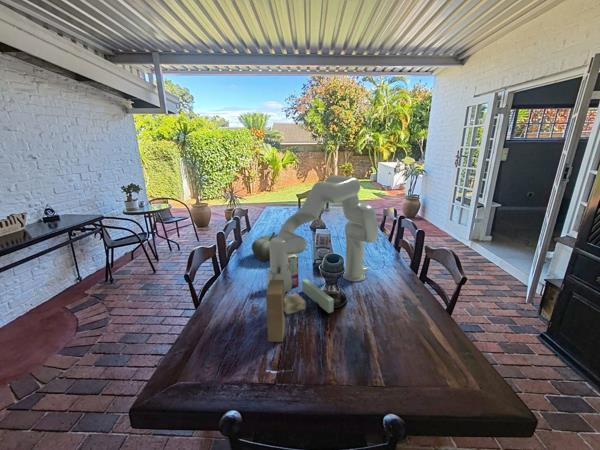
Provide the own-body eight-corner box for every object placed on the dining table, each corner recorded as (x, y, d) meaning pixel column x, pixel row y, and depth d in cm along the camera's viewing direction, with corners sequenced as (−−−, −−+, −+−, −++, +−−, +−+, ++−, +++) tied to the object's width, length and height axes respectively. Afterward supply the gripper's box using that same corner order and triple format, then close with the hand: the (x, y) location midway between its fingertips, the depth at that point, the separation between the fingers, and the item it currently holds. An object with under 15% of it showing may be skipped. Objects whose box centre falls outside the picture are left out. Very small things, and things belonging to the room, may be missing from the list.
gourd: (299, 258, 171) (293, 231, 167) (260, 271, 163) (253, 243, 159) (286, 248, 194) (281, 224, 190) (252, 259, 186) (245, 235, 182)
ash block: (297, 301, 130) (297, 292, 129) (305, 310, 123) (305, 301, 122) (279, 306, 126) (279, 297, 125) (286, 315, 119) (286, 306, 118)
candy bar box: (296, 281, 147) (296, 252, 143) (298, 286, 143) (298, 256, 138) (275, 284, 145) (274, 255, 140) (277, 289, 140) (276, 259, 135)
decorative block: (271, 323, 113) (269, 279, 108) (285, 324, 113) (284, 279, 107) (267, 342, 103) (265, 293, 97) (282, 342, 102) (281, 294, 97)
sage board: (306, 289, 139) (306, 278, 138) (333, 311, 121) (333, 299, 119) (302, 291, 138) (302, 280, 136) (328, 313, 120) (329, 301, 118)
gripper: (290, 260, 122) (290, 297, 127) (258, 267, 115) (260, 306, 120) (299, 266, 116) (299, 305, 121) (266, 274, 109) (267, 315, 114)
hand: (280, 306), depth 121 cm, fingers closed
